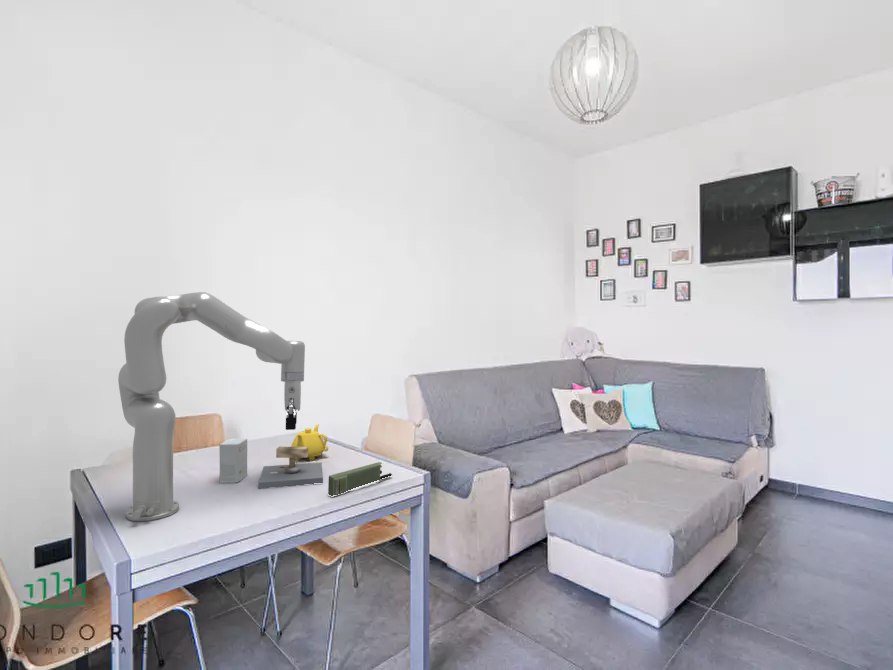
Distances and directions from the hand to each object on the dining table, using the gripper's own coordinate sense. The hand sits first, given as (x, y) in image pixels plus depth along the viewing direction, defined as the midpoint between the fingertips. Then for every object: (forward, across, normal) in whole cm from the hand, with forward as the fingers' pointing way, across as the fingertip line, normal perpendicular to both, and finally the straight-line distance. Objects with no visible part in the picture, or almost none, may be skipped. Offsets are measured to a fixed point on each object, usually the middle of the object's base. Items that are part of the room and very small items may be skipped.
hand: (291, 426), depth 161 cm
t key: (+16, 0, -1) cm, 16 cm away
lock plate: (+18, 0, -1) cm, 18 cm away
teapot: (+18, +24, -7) cm, 31 cm away
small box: (+18, +4, +18) cm, 26 cm away
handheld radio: (+18, -14, -23) cm, 33 cm away
